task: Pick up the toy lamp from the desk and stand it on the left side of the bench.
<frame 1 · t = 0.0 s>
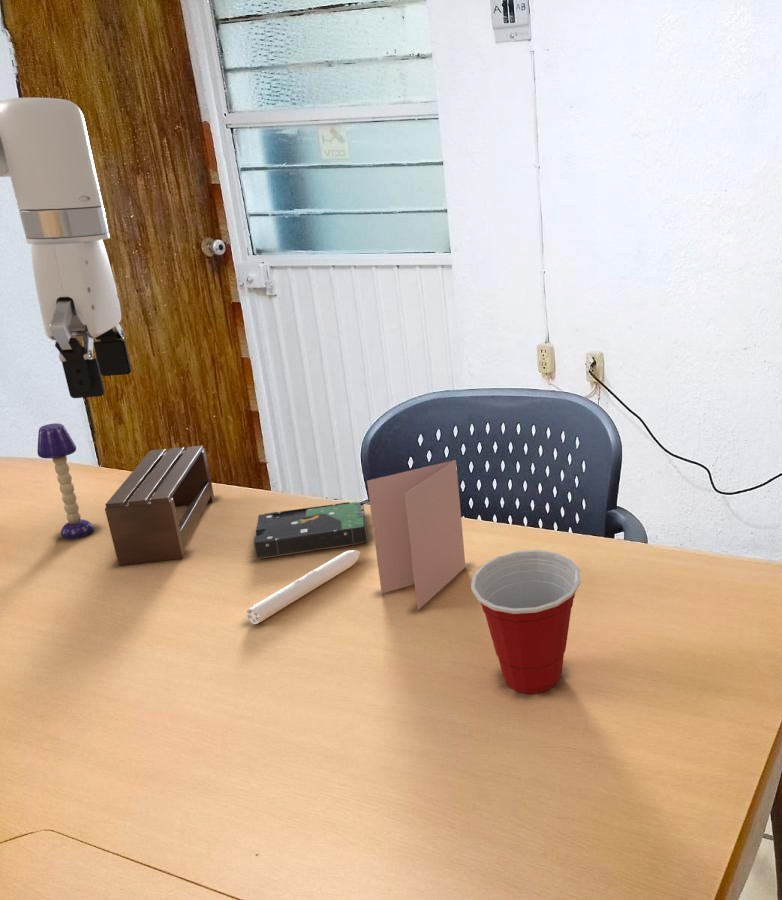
hand: (103, 385, 92), 28 cm above the table, tool pointing down, fingers open, 9 cm apart
toy lamp: (78, 535, 121), on the table
plastic cup: (532, 680, 85), on the table
greeting card: (433, 589, 103), on the table
bench: (170, 528, 122), on the table
marker: (311, 590, 104), on the table
disk drive: (314, 538, 118), on the table
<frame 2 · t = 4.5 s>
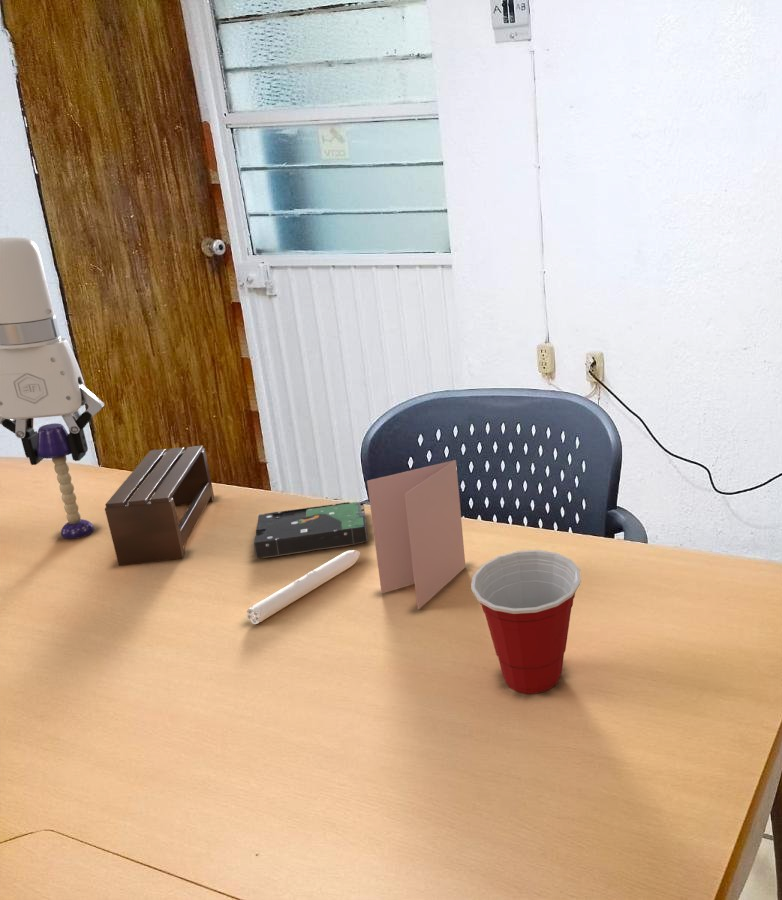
hand: (58, 458, 117), 12 cm above the table, tool pointing down, fingers closed on toy lamp, 4 cm apart
toy lamp: (78, 535, 121), on the table, touching gripper
everything else where it was.
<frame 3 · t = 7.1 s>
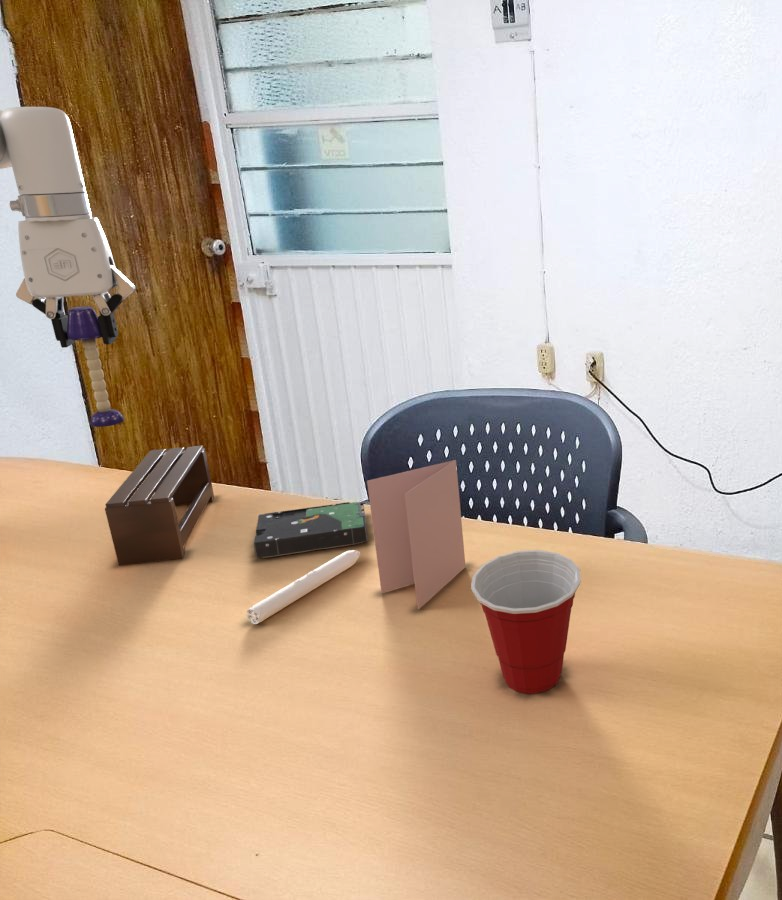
hand: (89, 342, 115), 28 cm above the table, tool pointing down, fingers closed on toy lamp, 4 cm apart
toy lamp: (108, 424, 119), point 16 cm above the table, touching gripper
everything else where it was.
when the fingers open (21 cm above the table, at t = 9.9 s): toy lamp stays where it is, resting on bench.
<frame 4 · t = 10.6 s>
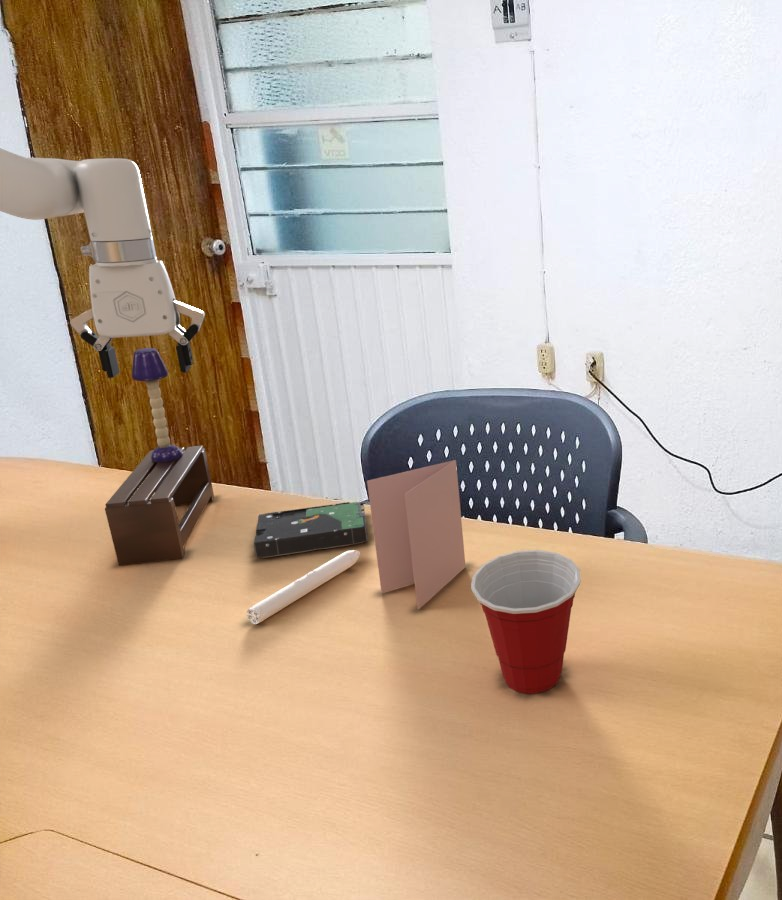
hand: (150, 373, 120), 22 cm above the table, tool pointing down, fingers open, 9 cm apart
toy lamp: (168, 459, 125), point 9 cm above the table, touching bench
everything else where it was.
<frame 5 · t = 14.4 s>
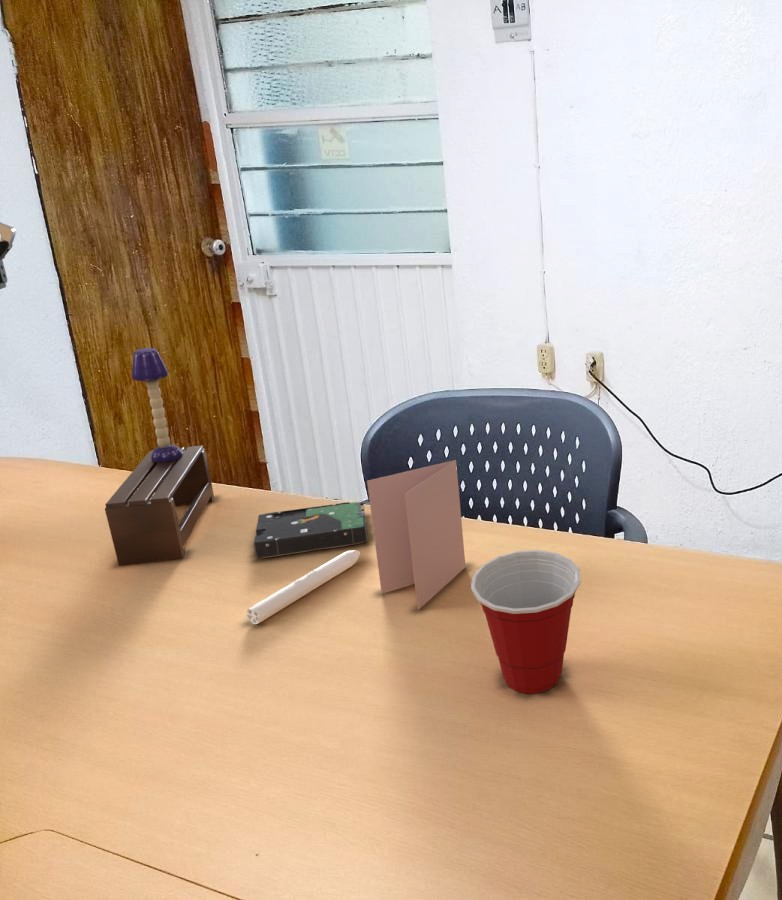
nothing on the table moved.
at the end: toy lamp inside the target area on the bench (0.3 cm from its centre), point 8.8 cm above the bench's base; toy lamp tilted 0°; the gripper is holding nothing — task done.
